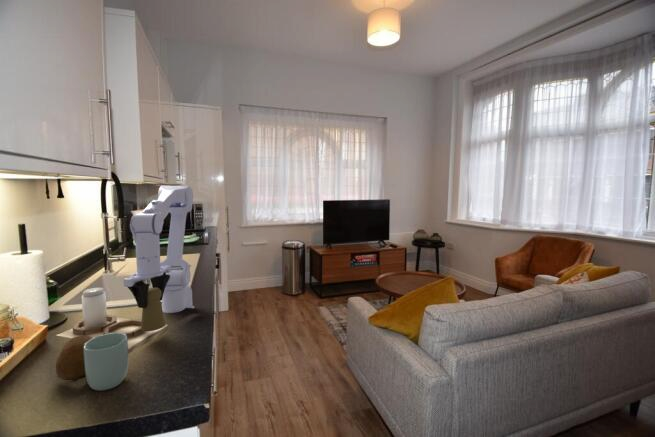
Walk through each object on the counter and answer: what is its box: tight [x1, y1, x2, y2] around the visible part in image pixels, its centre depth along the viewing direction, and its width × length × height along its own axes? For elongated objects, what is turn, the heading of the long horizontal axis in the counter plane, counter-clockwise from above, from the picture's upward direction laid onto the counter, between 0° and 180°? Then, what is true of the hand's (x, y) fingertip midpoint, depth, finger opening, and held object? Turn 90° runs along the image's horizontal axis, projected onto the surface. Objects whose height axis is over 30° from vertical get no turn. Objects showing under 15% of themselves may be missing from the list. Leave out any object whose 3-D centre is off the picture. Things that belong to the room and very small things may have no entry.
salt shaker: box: [81, 287, 108, 329], centre depth 90 cm, size 6×6×11 cm
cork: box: [141, 287, 166, 331], centre depth 86 cm, size 6×6×11 cm
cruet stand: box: [55, 314, 170, 354], centre depth 89 cm, size 14×25×3 cm, turn 76°
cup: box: [83, 333, 130, 392], centre depth 67 cm, size 8×8×10 cm
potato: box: [55, 336, 93, 382], centre depth 71 cm, size 8×12×9 cm
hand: (150, 303), depth 86 cm, fingers open, 5 cm apart
